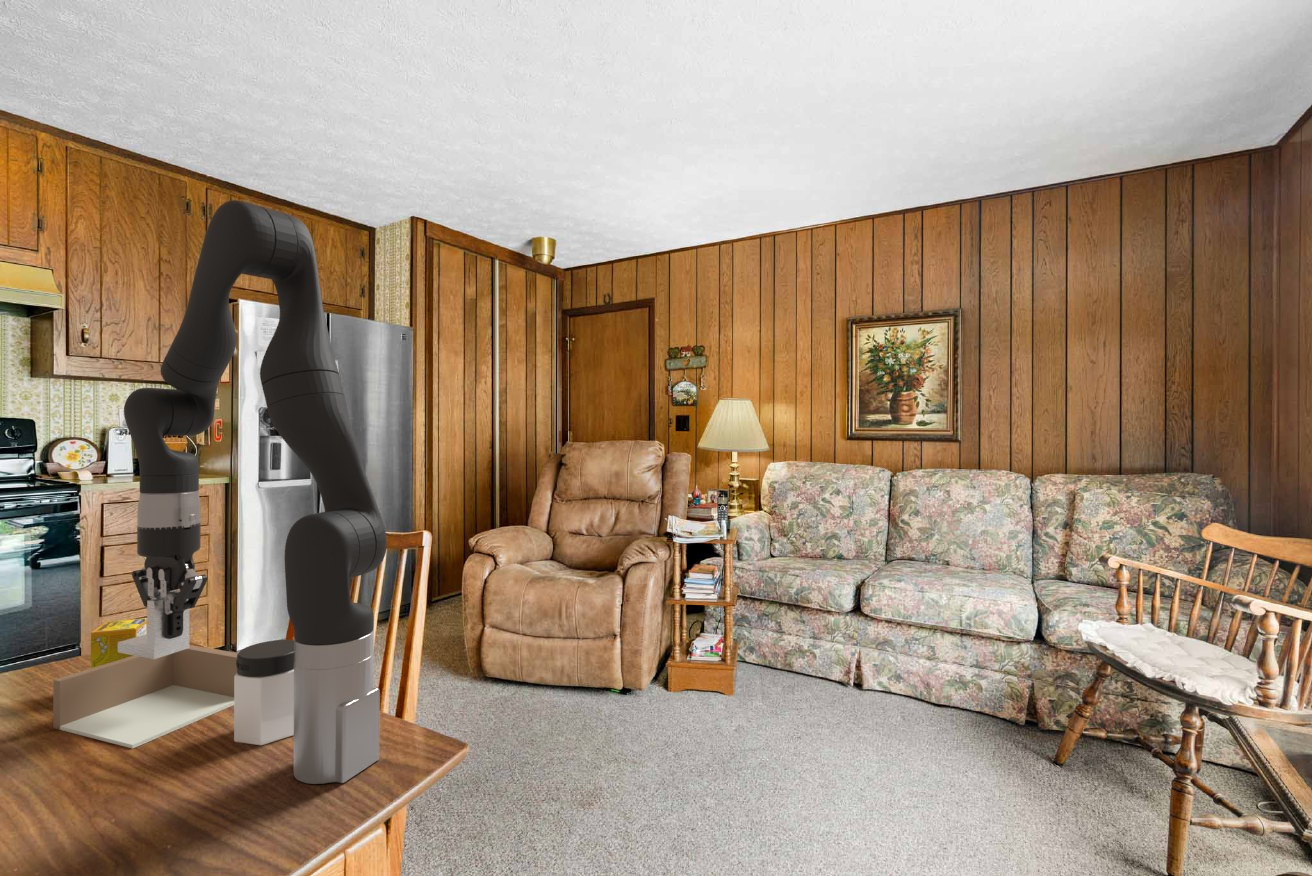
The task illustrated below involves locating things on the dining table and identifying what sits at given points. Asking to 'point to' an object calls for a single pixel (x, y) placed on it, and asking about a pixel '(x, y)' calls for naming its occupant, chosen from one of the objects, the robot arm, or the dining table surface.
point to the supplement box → (114, 639)
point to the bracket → (156, 635)
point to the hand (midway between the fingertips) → (169, 636)
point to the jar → (264, 692)
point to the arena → (144, 695)
